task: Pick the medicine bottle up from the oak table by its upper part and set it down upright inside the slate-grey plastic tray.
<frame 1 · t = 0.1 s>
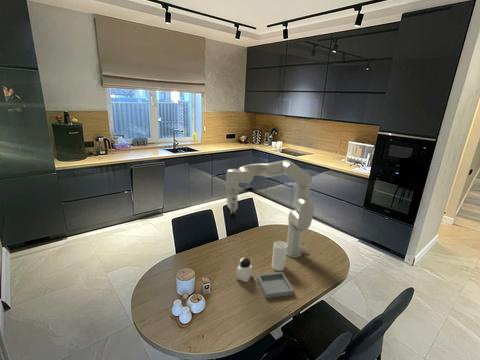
hand: (231, 215, 158), 31 cm above the table, fingers open, 9 cm apart
cup: (278, 266, 163), on the table
tray: (274, 286, 145), on the table
medicine bottle: (243, 277, 151), on the table
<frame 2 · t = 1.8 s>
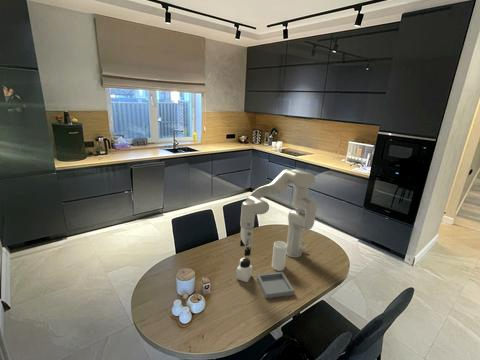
hand: (245, 250, 145), 18 cm above the table, fingers open, 9 cm apart
nothing on the table moved.
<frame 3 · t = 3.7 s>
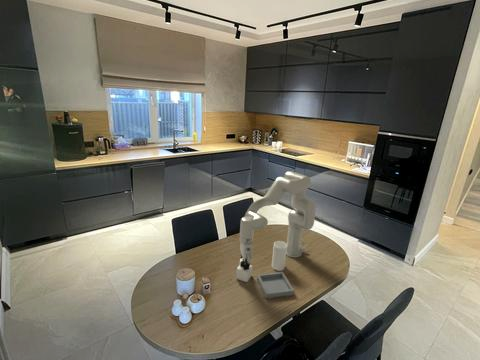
hand: (244, 265, 149), 8 cm above the table, fingers closed on medicine bottle, 6 cm apart
medicine bottle: (243, 277, 151), on the table, touching gripper
everything else where it was.
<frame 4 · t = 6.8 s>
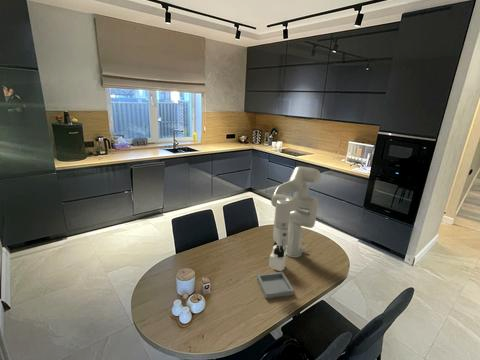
hand: (278, 253, 138), 22 cm above the table, fingers closed on medicine bottle, 6 cm apart
medicine bottle: (276, 266, 141), point 14 cm above the table, touching gripper
everything else where it was.
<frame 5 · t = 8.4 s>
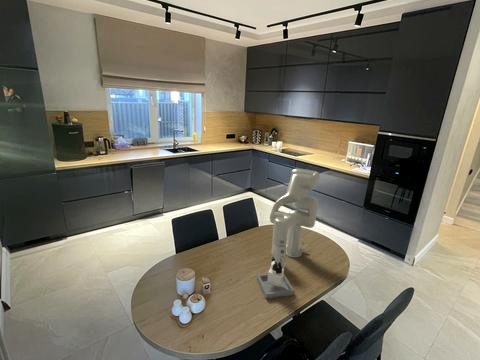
hand: (276, 268, 141), 12 cm above the table, fingers closed on medicine bottle, 6 cm apart
medicine bottle: (275, 281, 143), point 4 cm above the table, touching gripper
everything else where it was.
when the fingers open (10 cm above the table, at t = 9.8 s): medicine bottle stays where it is, resting on tray.
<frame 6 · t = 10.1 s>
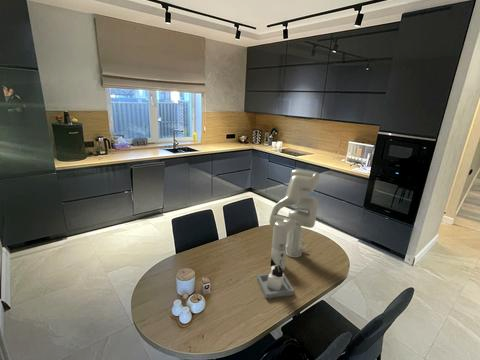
hand: (276, 271, 142), 10 cm above the table, fingers open, 9 cm apart
medicine bottle: (274, 286, 145), resting on tray
everything else where it was.
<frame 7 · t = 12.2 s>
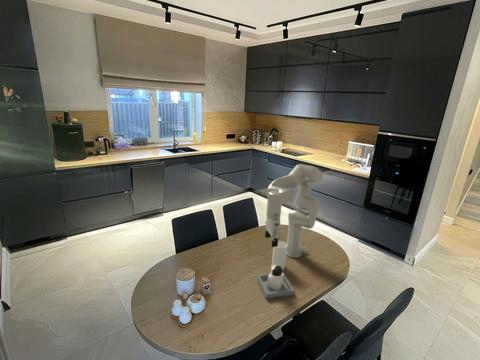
hand: (271, 241, 143), 25 cm above the table, fingers open, 9 cm apart
nothing on the table moved.
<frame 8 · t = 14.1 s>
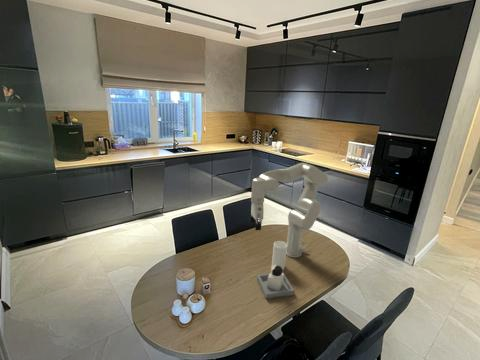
hand: (255, 226, 153), 28 cm above the table, fingers open, 9 cm apart
nothing on the table moved.
at the end: medicine bottle inside the target area on the tray (0.2 cm from its centre), point 0.4 cm above the tray's base; medicine bottle tilted 0°; the gripper is holding nothing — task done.
